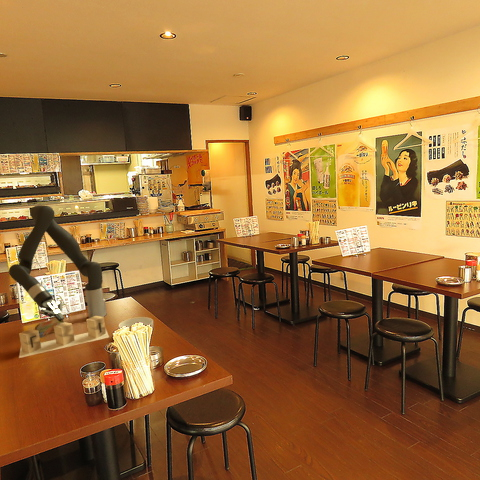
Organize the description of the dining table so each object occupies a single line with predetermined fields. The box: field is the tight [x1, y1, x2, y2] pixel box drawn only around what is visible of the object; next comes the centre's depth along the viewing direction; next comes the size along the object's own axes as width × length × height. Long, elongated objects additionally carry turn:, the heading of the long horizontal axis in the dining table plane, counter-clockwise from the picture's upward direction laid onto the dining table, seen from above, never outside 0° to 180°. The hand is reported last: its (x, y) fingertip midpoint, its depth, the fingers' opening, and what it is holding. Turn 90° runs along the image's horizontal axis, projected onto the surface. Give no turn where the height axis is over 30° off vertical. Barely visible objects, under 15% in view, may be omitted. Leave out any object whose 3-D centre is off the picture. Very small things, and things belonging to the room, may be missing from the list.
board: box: [18, 328, 110, 359], centre depth 195 cm, size 40×14×1 cm, turn 116°
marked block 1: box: [86, 316, 107, 338], centre depth 200 cm, size 6×6×9 cm
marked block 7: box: [18, 328, 41, 353], centre depth 187 cm, size 6×6×9 cm
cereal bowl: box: [118, 316, 154, 330], centre depth 198 cm, size 17×17×7 cm
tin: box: [34, 317, 65, 339], centre depth 207 cm, size 15×3×8 cm, turn 143°
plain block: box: [54, 321, 75, 345], centre depth 194 cm, size 6×6×9 cm
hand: (62, 320), depth 193 cm, fingers closed
